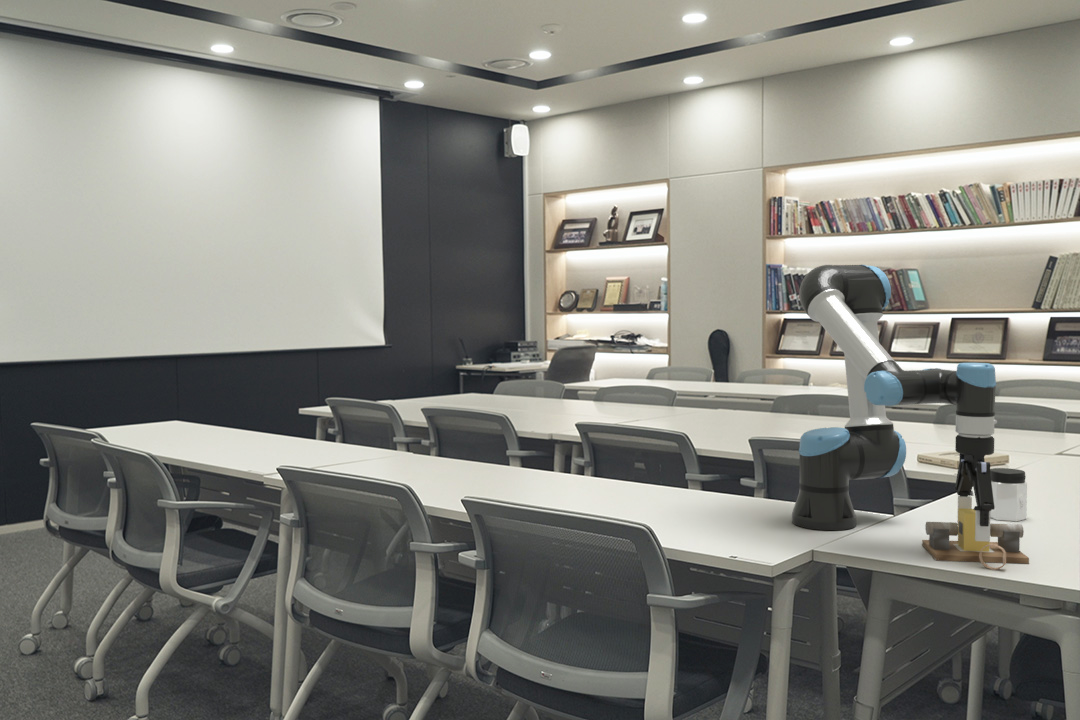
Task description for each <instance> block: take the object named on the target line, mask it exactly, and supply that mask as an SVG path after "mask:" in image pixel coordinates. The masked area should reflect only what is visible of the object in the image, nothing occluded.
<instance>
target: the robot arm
mask: <svg viewBox="0 0 1080 720" xmlns="http://www.w3.org/2000/svg"><path fill="white" fill-rule="evenodd" d="M798 294H799V302H800V304H801V307H802V308H803V311H804V312H805V313H806V314H807V316H808V317H809V318H810V319H811V320H812V321H814V322H817V323H819V324H820V325H821V326H822V327H823V329H824V331H826V333H827V334H828V335H829V336H830V338H832V340H833V341H834V342H835V344H836V345H837V346H838V347H839V348H840V350H841V351H842V353H844V355H843V356H844V363H845V365H844V366H845V377H846V386H847V387H846V388H847V398H848V408H849V420H848V421H847V423H846V424H844V427H838V426H837V427H836V426H835V427H820V428H815V429H810V430H807V431H805V432H804V433H803V434H802V435H801V436H800V439H799V449H798V453H799V490H798V491H799V492H798V495H797V497H796V498H797V499H796V501H795V504H794V506H793V510H792V514H791V522H792V524H794V525H795V526H798V527H801V528H805V529H810V530H811V529H812V530H819V531H821V530H822V531H843V530H850V529H853V528H856V526H857V517H856V516H857V515H856V511H855V510H854V506H853V503H852V501H851V497H850V494H849V490H850V489H849V484H850V483H849V481H854V480H855V481H857V480H868V479H883V478H887V477H893V476H894V475H897V474H898V473H899V472H900V471H901V469H902V468H903V467H904V464H905V461H906V458H907V445H906V440H905V439H904V438H903V436H902V434H901V433H900V432H898V431H896V430H895V428H894V422H892V421H891V420H890V419H889V418H888V416H887V413H886V407H894V406H905V405H925V404H926V405H927V404H928V405H929V404H931V405H932V404H945V405H946V404H947V405H955V406H956V410H955V433H957V435H956V436H955V447H954V448H955V449H954V450H955V451H956V453H958V454H959V462H958V467H957V474H956V478H955V479H956V481H955V486H954V491H956V494H957V509H958V508H961V509H974V510H976V512H975V541H988V542H991V536H990V524H991V517H990V512H991V510H994V508H995V506H994V499H993V491H992V483H991V475H990V469H991V463H990V461H987V462H986V461H985V456H990V455H993V454H994V453H995V437H993V435H994V434H995V425H997V424H998V420H997V419H995V417H996V416H995V414H996V387H997V380H996V367H995V365H993V364H991V363H987V362H959V363H958V364H957V366H956V370H950V369H942V368H937V367H936V368H931V367H930V368H924V369H922V370H920V369H919V370H913V369H911V370H904V369H902V368H901V366H900V365H899V364H898V363H897V362H896V361H895V359H894V358H893V357H892V356H891V355H890V354H889V353H888V351H887V350H886V349H885V348H884V346H883V345H881V343H880V339H879V329H878V328H879V327H878V322H879V321H880V319H881V318H882V317H883V316H884V313H883V312H884V311H883V310H885V308H886V307H887V306H888V305H889V303H890V301H889V300H891V297H892V288H891V283H890V281H889V278H888V276H887V275H886V273H885V272H884V271H883V270H881V268H879V267H877V266H875V265H866V264H824V265H819V266H817V267H814V268H812V269H811V270H809V272H808V273H807V274H806V275H805V276H804V277H803V280H802V281H801V283H800V286H799V293H798ZM973 491H974V492H973ZM973 496H974V497H975V502H976V505H975V506H974V508H972V505H973V503H972V502H973ZM956 523H957V525H958V519H957V522H956Z"/></svg>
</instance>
